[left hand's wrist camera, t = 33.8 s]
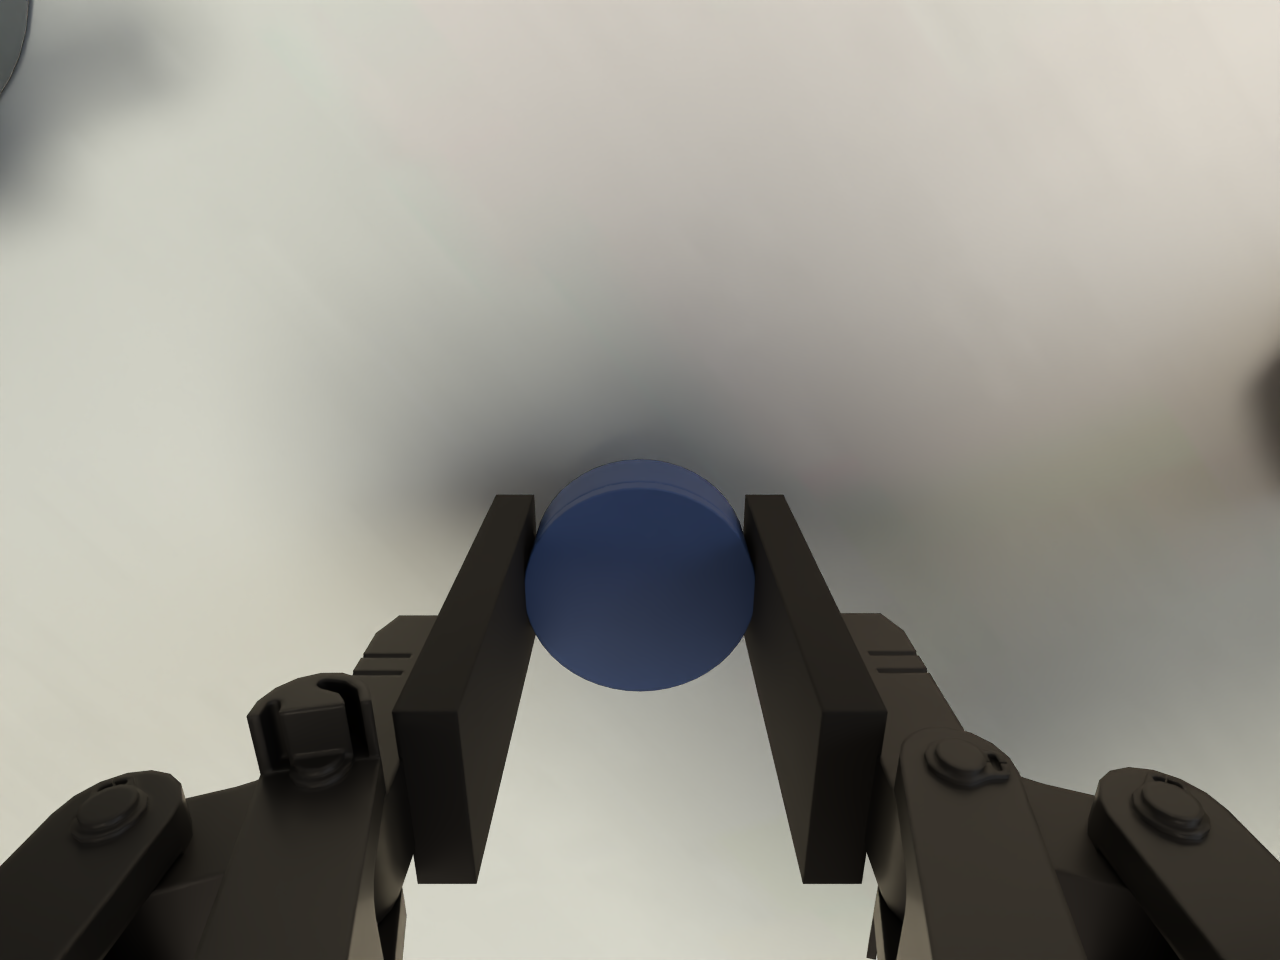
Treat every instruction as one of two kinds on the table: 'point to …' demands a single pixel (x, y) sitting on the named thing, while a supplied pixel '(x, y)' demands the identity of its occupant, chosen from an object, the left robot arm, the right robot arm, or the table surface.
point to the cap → (639, 576)
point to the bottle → (11, 36)
